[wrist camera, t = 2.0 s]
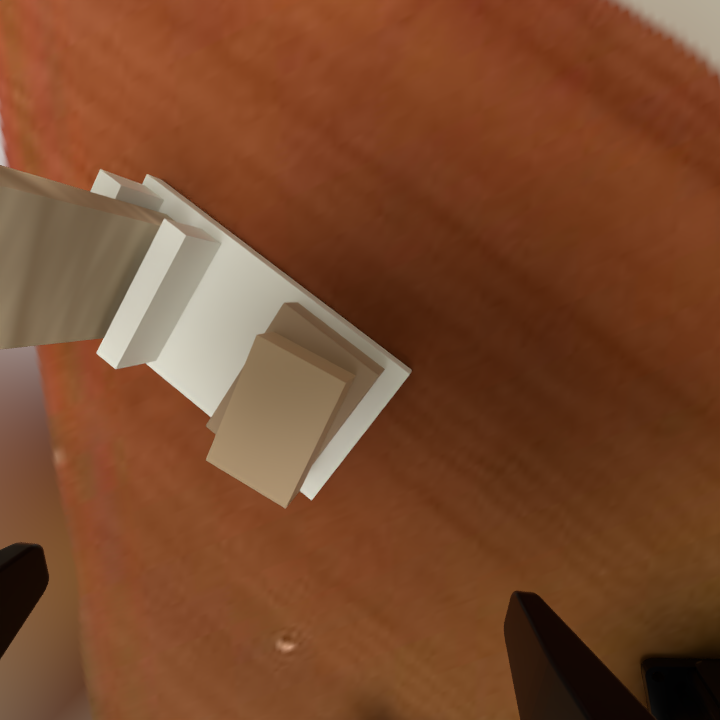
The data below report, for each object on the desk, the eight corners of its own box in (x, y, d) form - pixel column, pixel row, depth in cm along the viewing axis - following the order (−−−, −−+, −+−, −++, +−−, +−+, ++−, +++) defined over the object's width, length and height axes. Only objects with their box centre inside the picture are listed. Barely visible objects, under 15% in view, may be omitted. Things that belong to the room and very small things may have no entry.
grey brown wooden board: (190, 233, 19) (-349, 98, 6) (137, 334, 20) (-380, 391, 8) (165, 213, 19) (-411, 43, 6) (114, 315, 20) (-430, 341, 8)
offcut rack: (412, 370, 18) (400, 389, 14) (318, 491, 20) (286, 535, 16) (162, 179, 20) (90, 151, 16) (98, 310, 22) (21, 312, 18)
